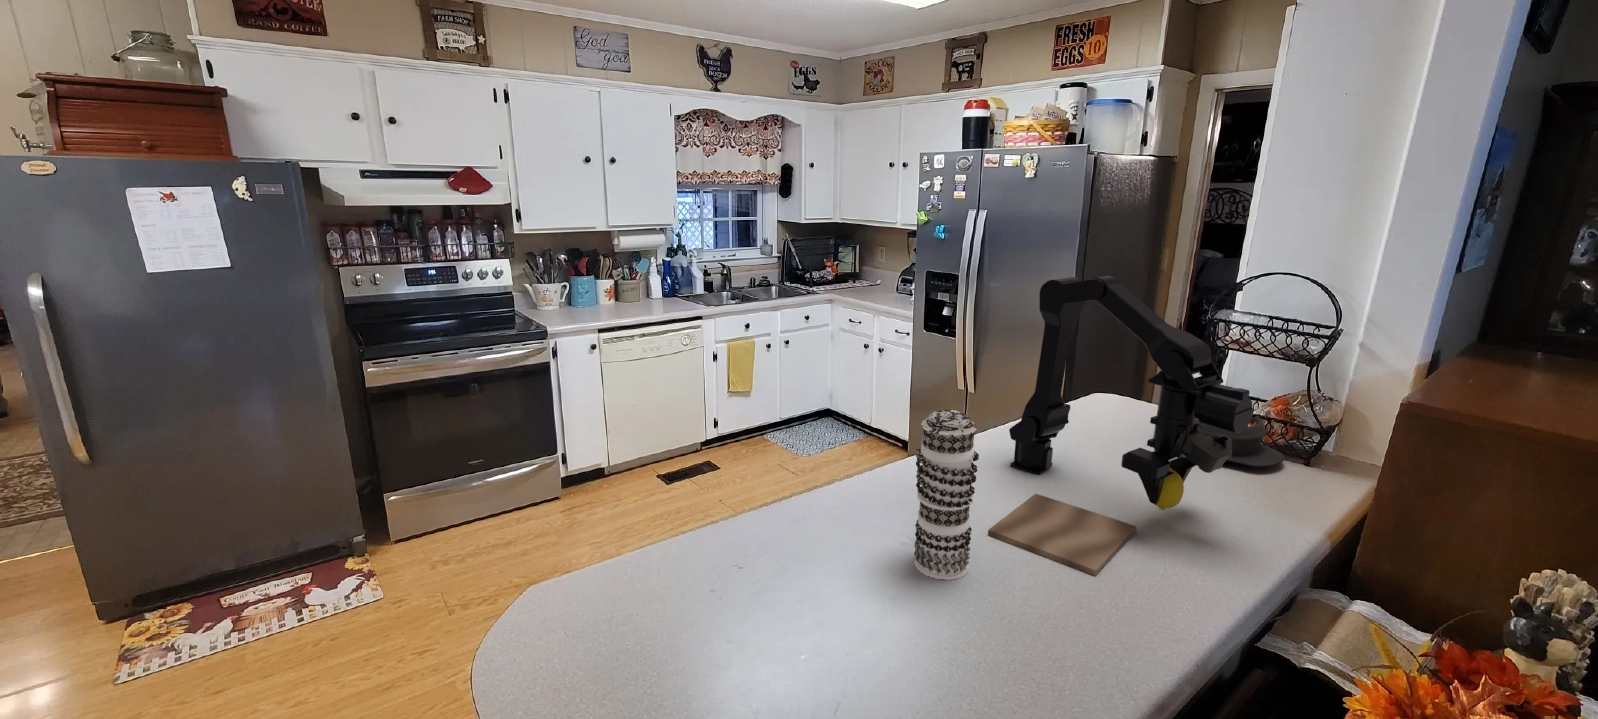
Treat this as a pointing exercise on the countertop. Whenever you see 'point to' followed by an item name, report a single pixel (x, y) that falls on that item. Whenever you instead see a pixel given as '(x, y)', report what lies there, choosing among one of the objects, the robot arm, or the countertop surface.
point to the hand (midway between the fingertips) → (1163, 498)
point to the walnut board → (1064, 533)
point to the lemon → (1171, 491)
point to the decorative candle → (945, 494)
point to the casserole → (1247, 444)
